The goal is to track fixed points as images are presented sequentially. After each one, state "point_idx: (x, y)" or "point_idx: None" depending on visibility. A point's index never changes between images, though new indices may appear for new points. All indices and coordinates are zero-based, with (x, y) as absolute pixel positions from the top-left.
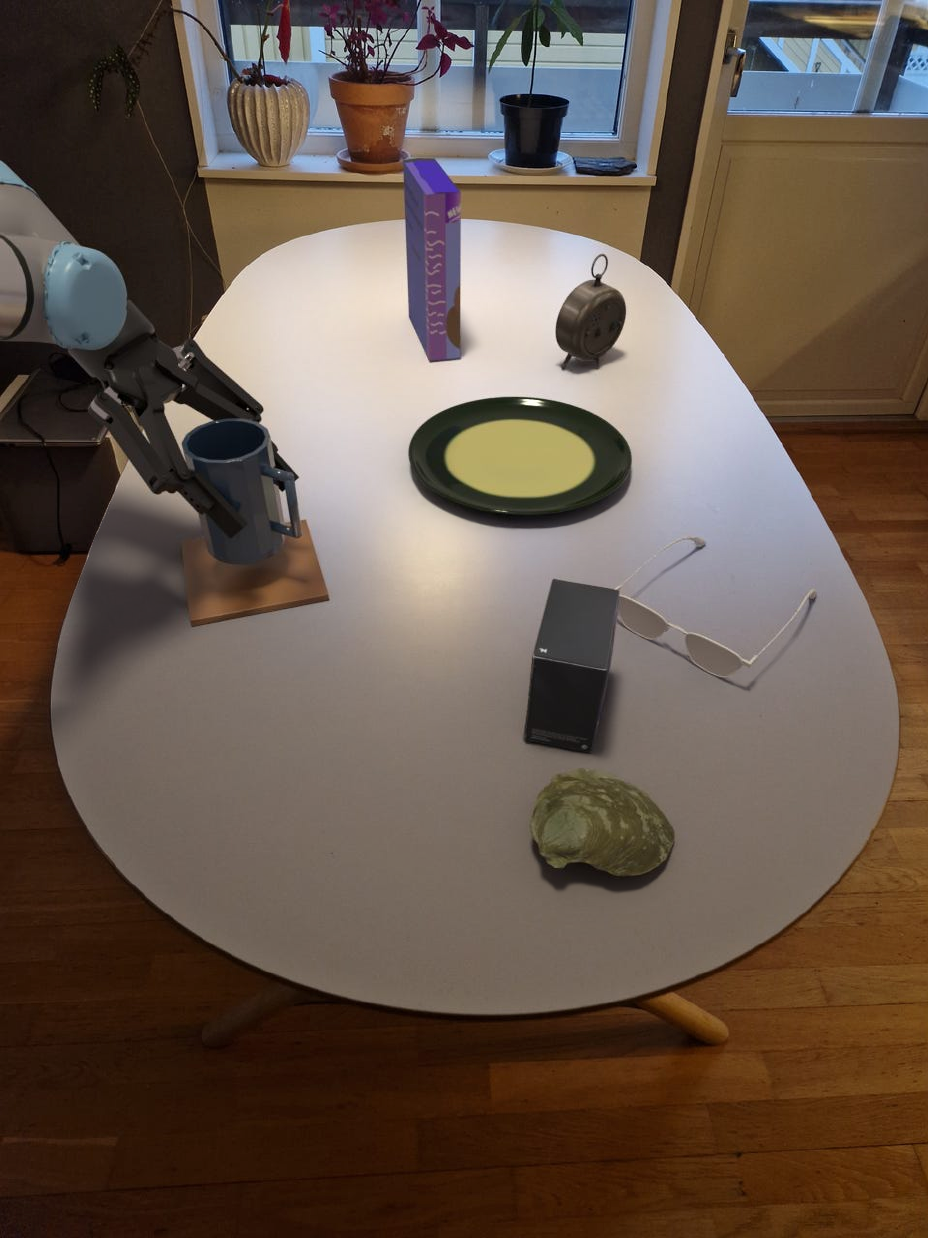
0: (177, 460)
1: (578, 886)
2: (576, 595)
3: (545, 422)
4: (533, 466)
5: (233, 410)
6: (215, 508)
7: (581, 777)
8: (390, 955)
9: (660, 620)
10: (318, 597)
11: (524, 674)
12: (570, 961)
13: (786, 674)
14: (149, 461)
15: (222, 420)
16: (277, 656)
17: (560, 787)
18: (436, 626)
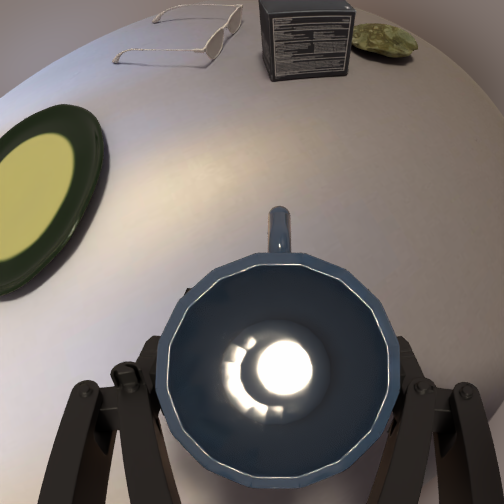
0: (422, 414)
1: None
2: (280, 3)
3: None
4: (26, 181)
5: (141, 429)
6: None
7: (365, 40)
8: (483, 105)
9: (220, 31)
10: None
11: (290, 86)
12: (433, 53)
13: (223, 15)
14: (489, 429)
15: (189, 441)
16: (384, 259)
17: (382, 42)
18: (270, 149)
